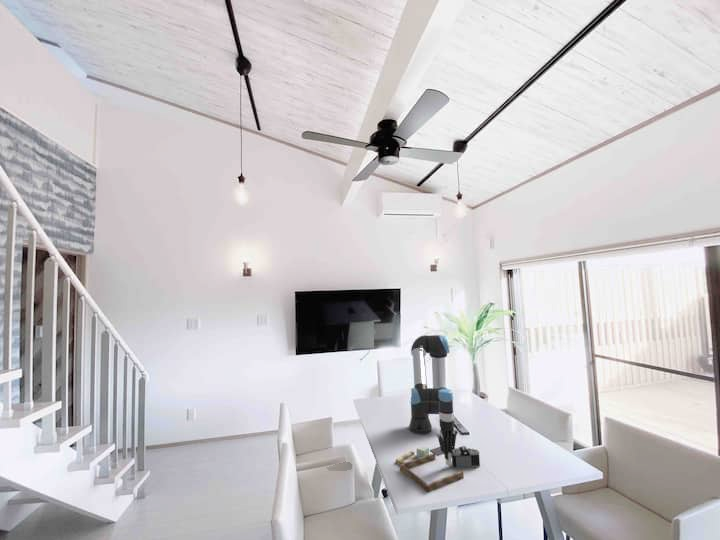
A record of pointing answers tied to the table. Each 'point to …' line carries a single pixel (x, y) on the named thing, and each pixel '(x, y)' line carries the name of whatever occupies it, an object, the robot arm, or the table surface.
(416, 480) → the brown wooden u frame
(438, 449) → the pad
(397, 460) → the crook
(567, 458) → the table surface
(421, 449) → the sage cube
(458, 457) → the camera
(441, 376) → the robot arm
